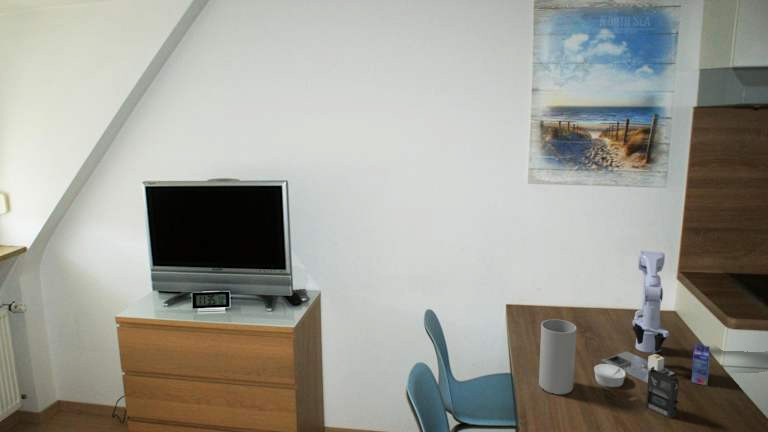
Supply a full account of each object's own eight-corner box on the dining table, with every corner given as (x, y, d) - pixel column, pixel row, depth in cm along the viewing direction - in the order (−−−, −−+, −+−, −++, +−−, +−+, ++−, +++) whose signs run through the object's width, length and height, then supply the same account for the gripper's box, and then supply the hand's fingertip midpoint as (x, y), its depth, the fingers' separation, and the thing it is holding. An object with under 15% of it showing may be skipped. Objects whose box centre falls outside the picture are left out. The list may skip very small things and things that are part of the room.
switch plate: (626, 353, 223) (627, 349, 223) (674, 375, 204) (675, 370, 204) (601, 362, 216) (601, 357, 216) (648, 385, 197) (648, 381, 197)
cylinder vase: (570, 379, 203) (573, 320, 198) (575, 396, 191) (578, 334, 186) (537, 377, 205) (539, 318, 200) (540, 393, 193) (542, 331, 188)
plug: (653, 367, 209) (655, 352, 207) (663, 371, 205) (664, 356, 204) (647, 370, 207) (648, 354, 206) (656, 374, 203) (658, 358, 202)
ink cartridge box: (691, 371, 207) (695, 337, 204) (707, 374, 204) (711, 340, 201) (690, 382, 199) (694, 347, 196) (707, 386, 196) (711, 350, 193)
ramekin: (628, 391, 194) (629, 378, 192) (596, 389, 196) (597, 376, 195) (620, 376, 204) (621, 364, 203) (590, 374, 206) (591, 362, 205)
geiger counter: (680, 415, 178) (684, 375, 175) (673, 420, 175) (677, 379, 172) (650, 402, 186) (653, 364, 183) (643, 406, 184) (646, 367, 181)
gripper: (628, 311, 209) (626, 342, 212) (662, 323, 197) (659, 356, 199) (639, 308, 212) (637, 338, 215) (673, 320, 200) (670, 352, 203)
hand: (648, 346), depth 208 cm, fingers open, 7 cm apart
